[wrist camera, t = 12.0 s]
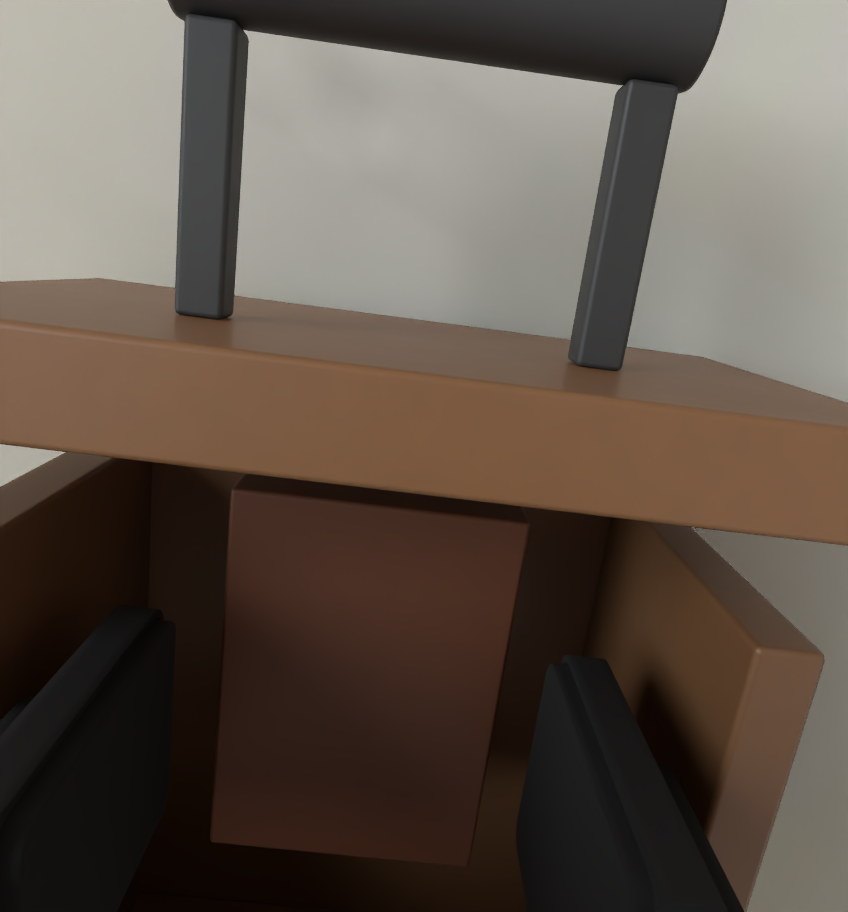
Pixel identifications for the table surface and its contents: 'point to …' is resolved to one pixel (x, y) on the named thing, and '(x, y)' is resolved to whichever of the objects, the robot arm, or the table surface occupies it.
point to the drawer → (422, 464)
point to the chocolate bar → (361, 668)
